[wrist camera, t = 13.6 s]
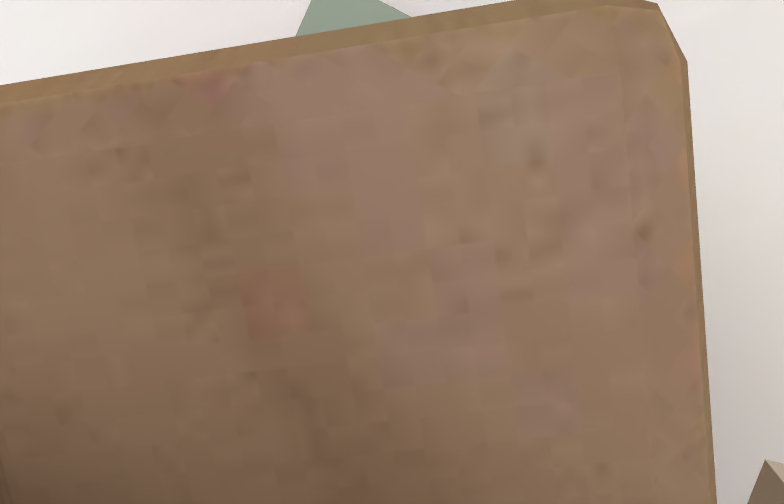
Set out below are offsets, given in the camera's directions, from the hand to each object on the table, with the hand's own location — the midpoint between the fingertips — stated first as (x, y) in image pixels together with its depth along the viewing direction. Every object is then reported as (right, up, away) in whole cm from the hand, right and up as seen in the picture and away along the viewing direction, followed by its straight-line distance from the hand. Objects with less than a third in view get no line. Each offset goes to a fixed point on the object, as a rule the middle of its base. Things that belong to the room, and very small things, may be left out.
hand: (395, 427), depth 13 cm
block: (+1, +5, +15) cm, 16 cm away
